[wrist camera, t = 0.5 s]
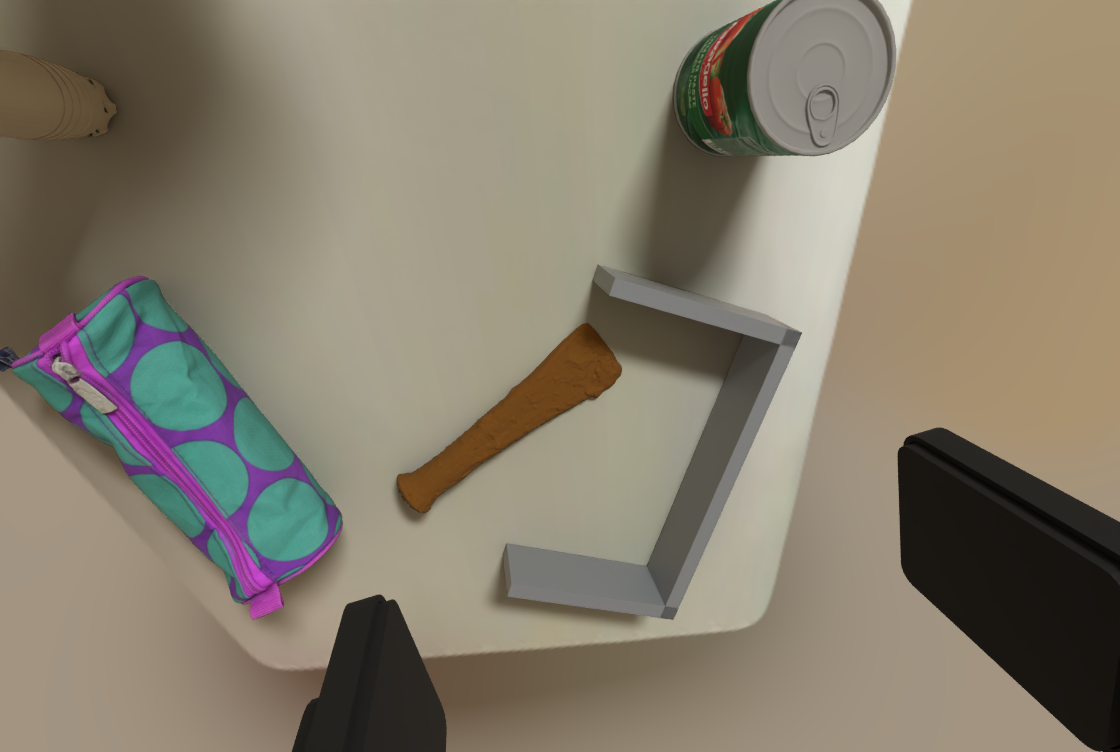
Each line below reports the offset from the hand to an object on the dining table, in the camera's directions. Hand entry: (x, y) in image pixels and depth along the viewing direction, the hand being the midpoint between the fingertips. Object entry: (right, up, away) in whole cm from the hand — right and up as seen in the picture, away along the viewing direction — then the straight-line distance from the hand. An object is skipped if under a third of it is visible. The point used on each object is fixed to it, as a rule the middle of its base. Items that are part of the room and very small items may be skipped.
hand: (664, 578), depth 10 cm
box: (+4, -2, +37) cm, 37 cm away
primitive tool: (-6, +1, +35) cm, 35 cm away
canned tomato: (+9, +23, +29) cm, 38 cm away
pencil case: (-26, +1, +31) cm, 40 cm away
